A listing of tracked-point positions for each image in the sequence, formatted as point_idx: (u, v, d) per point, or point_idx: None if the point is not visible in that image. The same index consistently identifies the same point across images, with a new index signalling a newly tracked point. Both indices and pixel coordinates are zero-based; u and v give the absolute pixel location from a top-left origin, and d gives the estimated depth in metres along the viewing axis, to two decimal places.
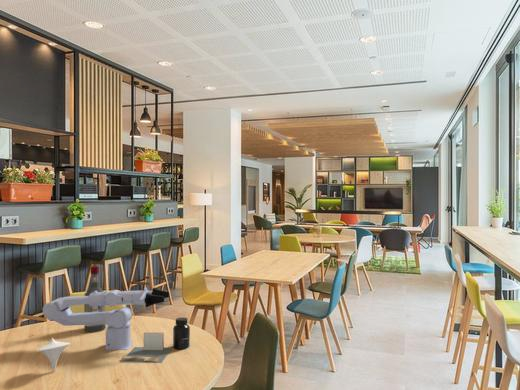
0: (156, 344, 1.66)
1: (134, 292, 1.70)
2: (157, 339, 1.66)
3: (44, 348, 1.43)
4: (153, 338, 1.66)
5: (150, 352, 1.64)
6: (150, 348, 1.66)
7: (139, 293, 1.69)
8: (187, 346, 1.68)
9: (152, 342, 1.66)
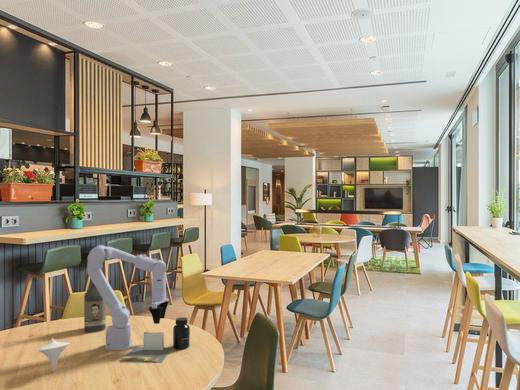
0: (156, 344, 1.66)
1: (163, 290, 1.73)
2: (157, 339, 1.66)
3: (44, 348, 1.43)
4: (153, 338, 1.66)
5: (150, 352, 1.64)
6: (150, 348, 1.66)
7: (162, 296, 1.73)
8: (187, 346, 1.68)
9: (152, 342, 1.66)
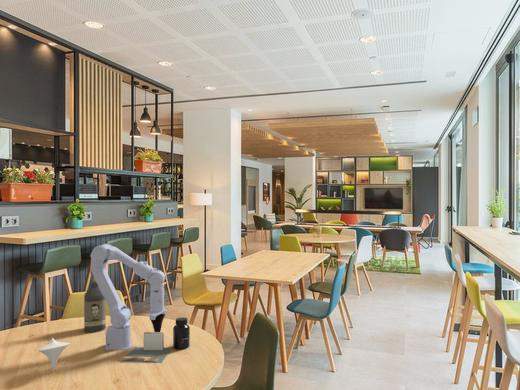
0: (156, 344, 1.66)
1: (162, 301, 1.71)
2: (157, 339, 1.66)
3: (44, 348, 1.43)
4: (153, 338, 1.66)
5: (150, 352, 1.64)
6: (150, 348, 1.66)
7: (160, 307, 1.70)
8: (187, 346, 1.68)
9: (152, 342, 1.66)
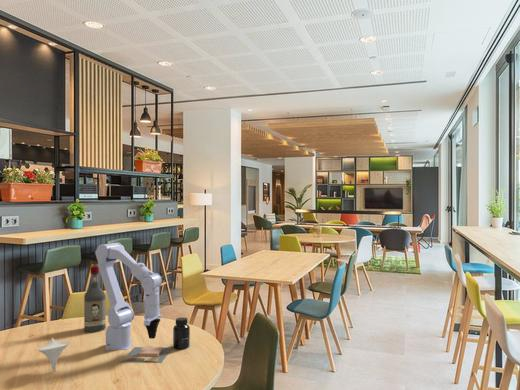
0: None
1: (157, 306, 1.64)
2: None
3: (44, 348, 1.43)
4: None
5: None
6: None
7: (155, 312, 1.63)
8: (187, 346, 1.68)
9: None
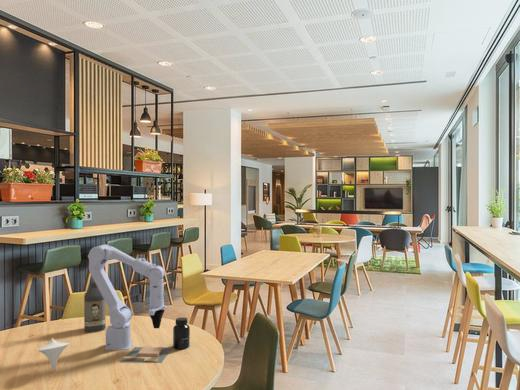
0: None
1: (161, 297, 1.70)
2: None
3: (44, 348, 1.43)
4: None
5: None
6: None
7: (160, 303, 1.69)
8: (187, 346, 1.68)
9: None
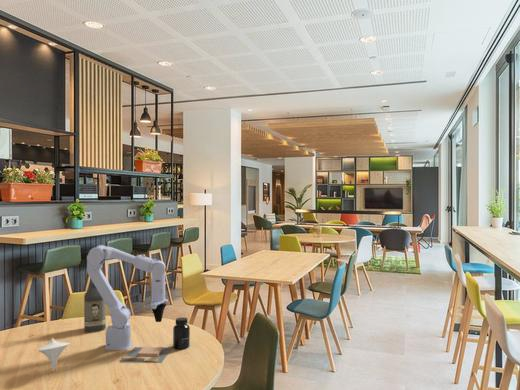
0: None
1: (163, 291, 1.72)
2: None
3: (44, 348, 1.43)
4: None
5: None
6: None
7: (161, 296, 1.72)
8: (187, 346, 1.68)
9: None
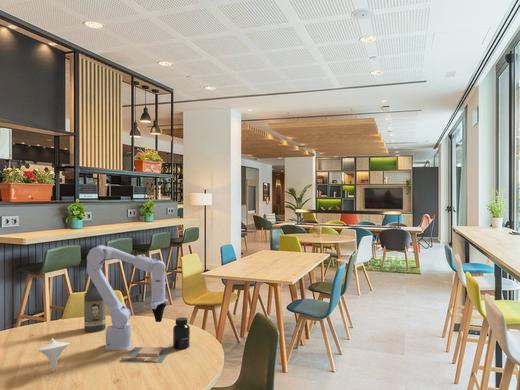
0: None
1: (163, 291, 1.72)
2: None
3: (44, 348, 1.43)
4: None
5: None
6: None
7: (161, 296, 1.72)
8: (187, 346, 1.68)
9: None
